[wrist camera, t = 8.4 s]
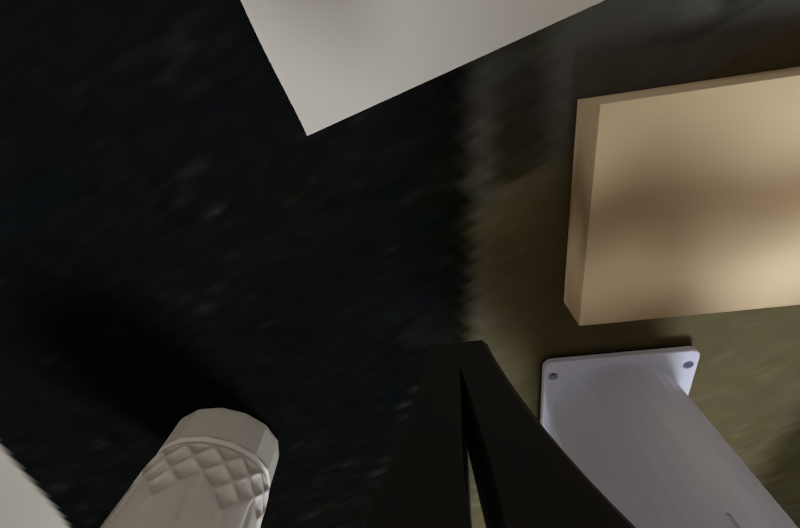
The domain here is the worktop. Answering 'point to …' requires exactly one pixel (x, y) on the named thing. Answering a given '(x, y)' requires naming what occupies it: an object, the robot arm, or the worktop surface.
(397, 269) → the worktop surface
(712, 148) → the wooden board
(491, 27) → the kitchen cleaver
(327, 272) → the worktop surface
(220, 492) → the white cup
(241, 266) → the worktop surface
